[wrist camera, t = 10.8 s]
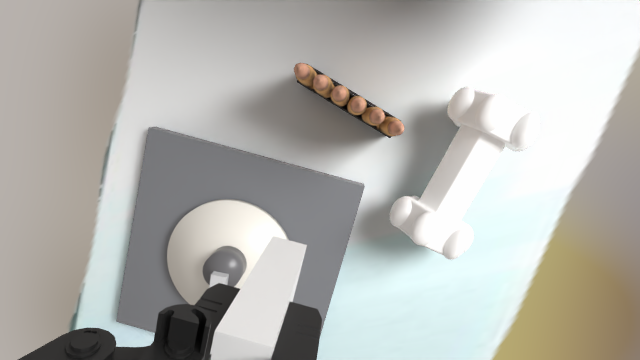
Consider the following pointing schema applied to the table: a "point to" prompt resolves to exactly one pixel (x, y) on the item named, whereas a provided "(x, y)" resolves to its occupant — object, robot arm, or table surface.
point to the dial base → (241, 184)
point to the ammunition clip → (348, 100)
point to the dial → (218, 245)
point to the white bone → (464, 169)
